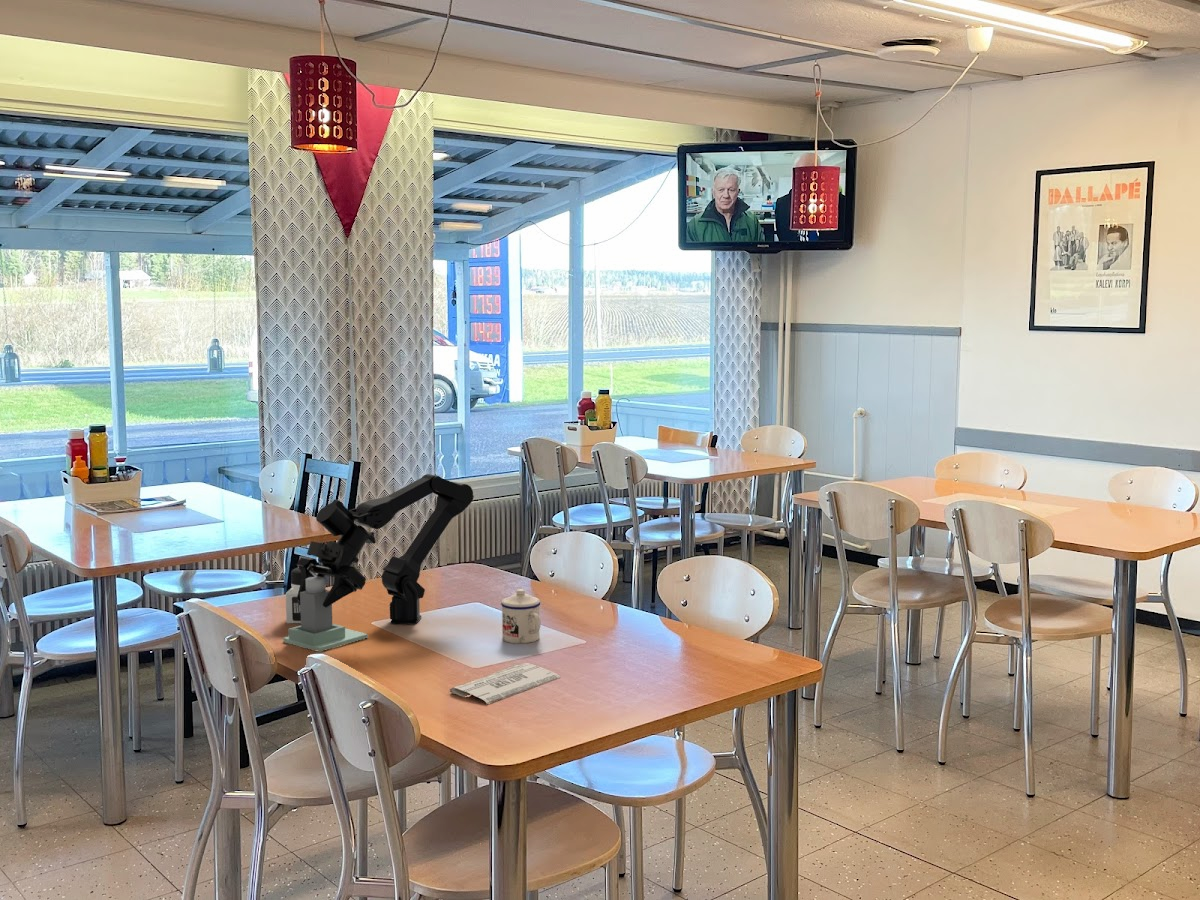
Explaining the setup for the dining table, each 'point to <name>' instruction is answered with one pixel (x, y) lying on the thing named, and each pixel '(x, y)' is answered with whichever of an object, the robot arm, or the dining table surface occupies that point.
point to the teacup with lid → (520, 618)
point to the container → (293, 598)
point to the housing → (323, 637)
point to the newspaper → (506, 682)
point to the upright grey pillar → (315, 606)
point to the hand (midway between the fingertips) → (311, 603)
